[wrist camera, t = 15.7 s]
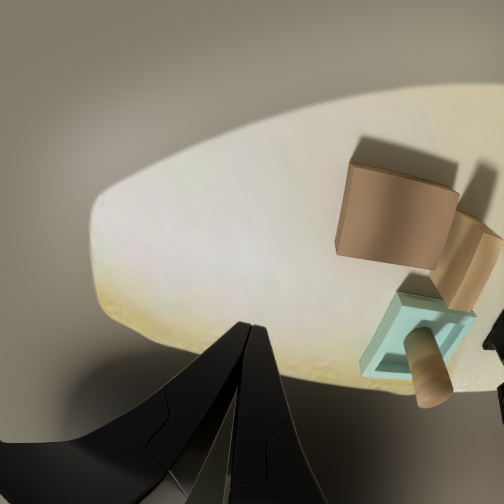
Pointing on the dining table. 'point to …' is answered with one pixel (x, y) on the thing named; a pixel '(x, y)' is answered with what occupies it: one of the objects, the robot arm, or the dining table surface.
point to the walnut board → (394, 217)
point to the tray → (402, 323)
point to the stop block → (466, 262)
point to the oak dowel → (427, 368)
